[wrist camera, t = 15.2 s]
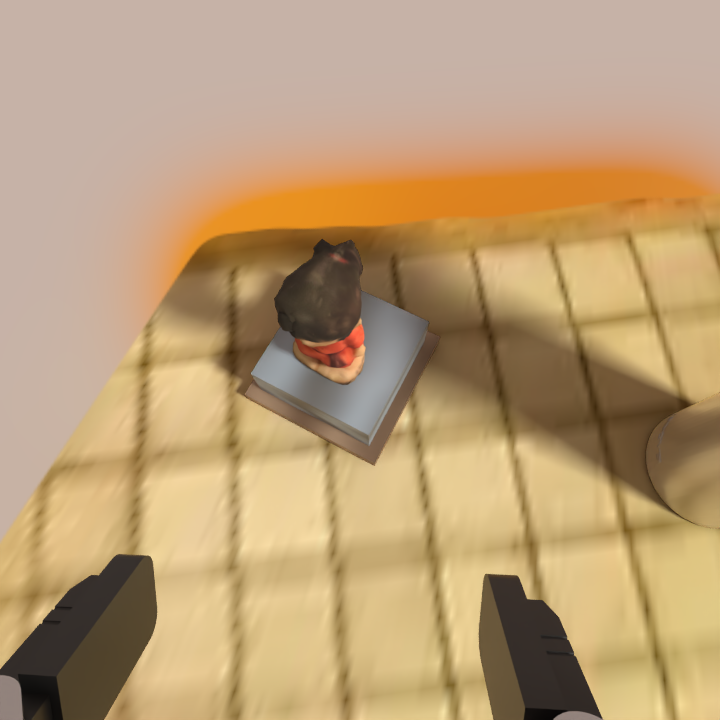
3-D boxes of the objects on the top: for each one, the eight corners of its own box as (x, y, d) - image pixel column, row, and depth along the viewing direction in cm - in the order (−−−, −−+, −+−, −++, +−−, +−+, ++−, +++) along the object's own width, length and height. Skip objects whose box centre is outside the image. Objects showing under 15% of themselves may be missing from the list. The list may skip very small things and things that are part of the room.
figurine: (292, 315, 41) (261, 225, 30) (363, 310, 41) (360, 218, 30) (293, 392, 39) (261, 327, 28) (369, 387, 39) (368, 319, 28)
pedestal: (438, 342, 46) (446, 316, 41) (374, 465, 42) (374, 454, 37) (318, 285, 48) (311, 254, 43) (247, 398, 44) (232, 379, 39)
